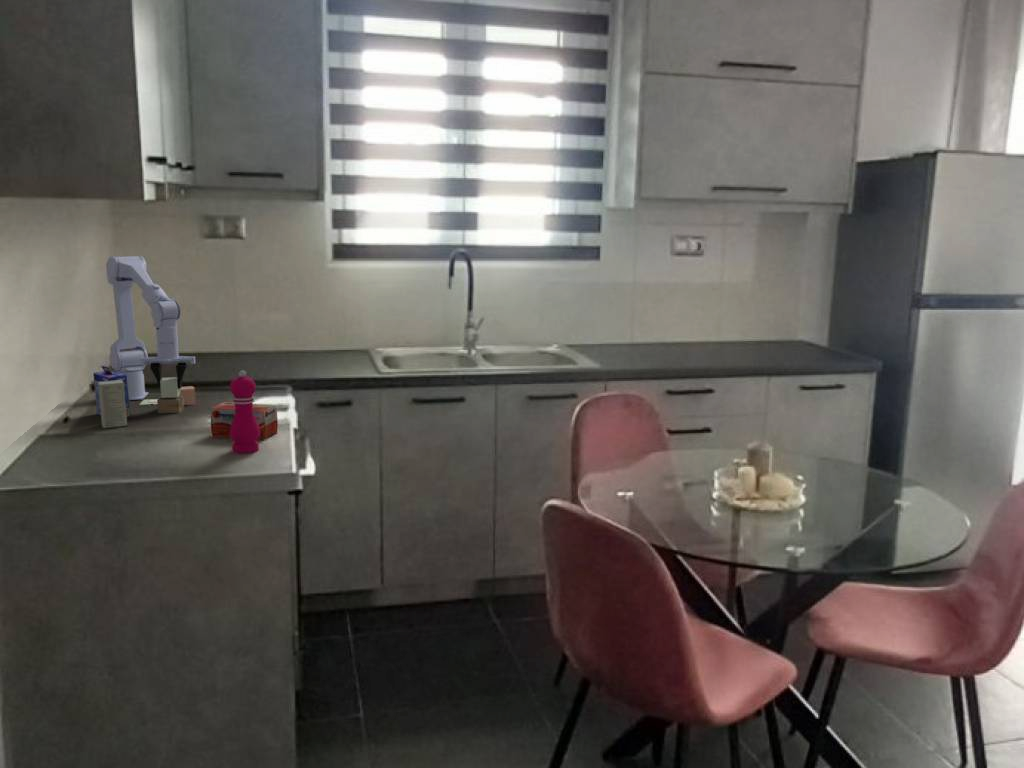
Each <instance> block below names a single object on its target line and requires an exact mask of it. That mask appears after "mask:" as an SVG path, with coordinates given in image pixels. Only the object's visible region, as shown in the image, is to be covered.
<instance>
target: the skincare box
mask: <svg viewBox="0 0 1024 768" xmlns="http://www.w3.org/2000/svg"><path fill="white" fill-rule="evenodd" d="M98 389H99V399H100V410H101V415H100V421H101V426H102V428H103V429H106V428H107V429H108V428H116V427H124V426H126V427H127V426H128V417H127V416H126V405H125V393H124V382H123V381H122V380H113V381H102V382H98Z"/></svg>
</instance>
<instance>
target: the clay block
mask: <svg viewBox="0 0 1024 768" xmlns="http://www.w3.org/2000/svg"><path fill="white" fill-rule="evenodd" d="M179 396H184V405H186V406H196V403H197V402H196V401H197V400H196V388H195V387H194V386H192V385H191V386H190V385H189V386H181V388H180V395H179Z"/></svg>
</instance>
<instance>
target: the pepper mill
mask: <svg viewBox="0 0 1024 768" xmlns="http://www.w3.org/2000/svg"><path fill="white" fill-rule="evenodd" d="M256 389H257V385H256V382H255V381H254V379H252V377H249V376H247V371H245V370H244V369H243V370H240V371H239V372H238V377H236V378H234V379H233V380H231V382H230V385H229V390H230V392H231V394H232V395H233V397H232V399H233V400H232V403H235V415H234V419H233V422H232V424H231V427H230V438H229V439H231V440H232V441H233V443H232V444H231V447H232V450H231V451H232V453H236V454H241V453H245V454H250V453H249V452H253V453H255V452H254V451H256V452H258V451H259V449H260V446H259V445H260V444H259V442H258V440H257V439H258V438H259V436H260V428H259V425H258V423H257V421H256V419H255V417H254V414H253V408H252V405H253V404H254V402H255V400H254V399H255V396H254V394H255V393H256ZM257 450H258V451H257Z"/></svg>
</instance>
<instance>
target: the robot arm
mask: <svg viewBox="0 0 1024 768" xmlns="http://www.w3.org/2000/svg"><path fill="white" fill-rule="evenodd" d="M105 268H106V277H107V282H108V284H110V285H112V290H113V297H114V298H113V299H114V307H115V309H114V310H115V318H116V326H117V327H116V328H117V335H118V338H117V339H116V340H115V341H114V342H113V343H112V344H111V345H110V346H109V351H110V352H109V364H110V366H111V367H112V368H113V369H114V371H115V372H116V373H121V374H125V375H127V384H128V394H129V401H130V400H131V401H132V400H133V401H136V400H138V401H139V400H141V401H143V400H144V399H145V398H146V396H148V394H149V392H148V391H146V388H145V375H144V372H143V370H145V367H146V366H147V365H150V367H149V368H150V370H151V372H152V374H153V376H154V378H155V379H156V382H157V385H158V389H159V390H161V387H160V380H161V379H162V378H163V365H175V369H176V378H177V384H178V389H180V388H181V387H182V382H183V377H184V375H185V371H186V369H187V367H188V364H189V365H195V364H196V356H189V355H188V356H187V355H185V356H184V355H179V353H180V352H179V337H178V336H179V335H178V320H179V319H180V316H181V308H180V304H179V303H178V301H177V300H176V299H172V298H169V296H168V295H167V293H166V292H165V291H164V290H163V288H162V287H161V286H160V285H159V284H157V283H153V281H152V278H151V277H150V276H149V273H148V272H147V262H146V259H145V258H144V257H143V256H142V255H136V256H135V255H134V256H133V255H131V256H113V255H111V256H110V257H108V259H107V261H106V263H105ZM134 284H136V286H138V287H139V289H140V290H142V292H141V296H142V298H143V300H144V301H145V302H146V303H147V305H148V306H149V308H150V309H151V310H150V314H151V315H150V316H151V318H152V321H153V325H154V327H155V331H156V332H155V333H156V335H155V336H156V349H157V351H156V353H157V356H148V351H147V349H146V345H145V343H144V342H143V341H142V340H140V339H138V338H137V332H136V324H135V315H134V305H133V304H134V303H133V296H132V287H133V285H134Z"/></svg>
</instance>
